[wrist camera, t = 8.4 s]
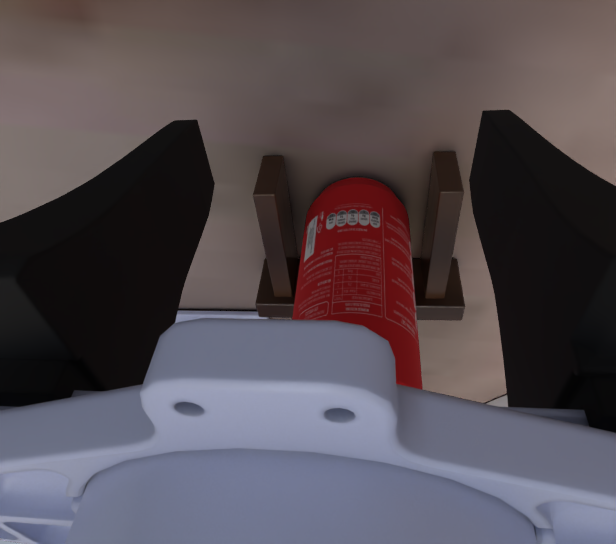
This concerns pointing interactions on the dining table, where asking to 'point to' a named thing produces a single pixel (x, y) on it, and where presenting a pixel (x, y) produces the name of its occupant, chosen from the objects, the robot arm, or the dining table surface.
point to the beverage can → (361, 267)
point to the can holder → (426, 271)
